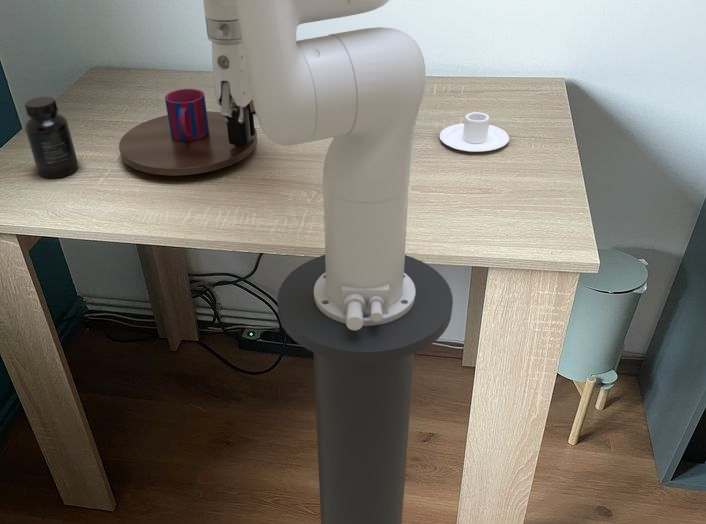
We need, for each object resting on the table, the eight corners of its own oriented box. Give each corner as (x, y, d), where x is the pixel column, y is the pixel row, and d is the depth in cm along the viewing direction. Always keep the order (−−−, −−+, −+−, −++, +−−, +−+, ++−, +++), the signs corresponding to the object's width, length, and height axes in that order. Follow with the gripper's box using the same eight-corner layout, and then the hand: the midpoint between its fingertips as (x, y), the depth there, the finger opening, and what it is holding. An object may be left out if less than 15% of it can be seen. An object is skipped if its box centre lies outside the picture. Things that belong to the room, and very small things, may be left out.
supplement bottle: (39, 164, 127) (18, 97, 120) (78, 159, 129) (61, 91, 121) (37, 181, 122) (16, 112, 115) (79, 175, 123) (61, 106, 116)
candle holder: (461, 160, 122) (464, 136, 119) (427, 134, 131) (428, 110, 128) (522, 147, 125) (526, 122, 122) (484, 122, 134) (487, 99, 131)
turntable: (249, 174, 118) (245, 133, 113) (104, 176, 119) (95, 136, 115) (263, 116, 136) (260, 78, 132) (137, 118, 138) (130, 81, 133)
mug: (212, 126, 130) (207, 88, 126) (201, 150, 123) (195, 110, 118) (176, 126, 131) (170, 88, 127) (162, 150, 123) (155, 110, 119)
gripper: (236, 44, 106) (248, 162, 118) (269, 12, 118) (276, 121, 130) (188, 42, 107) (204, 158, 119) (225, 10, 120) (237, 119, 131)
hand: (242, 138), depth 124 cm, fingers closed on turntable, 3 cm apart
